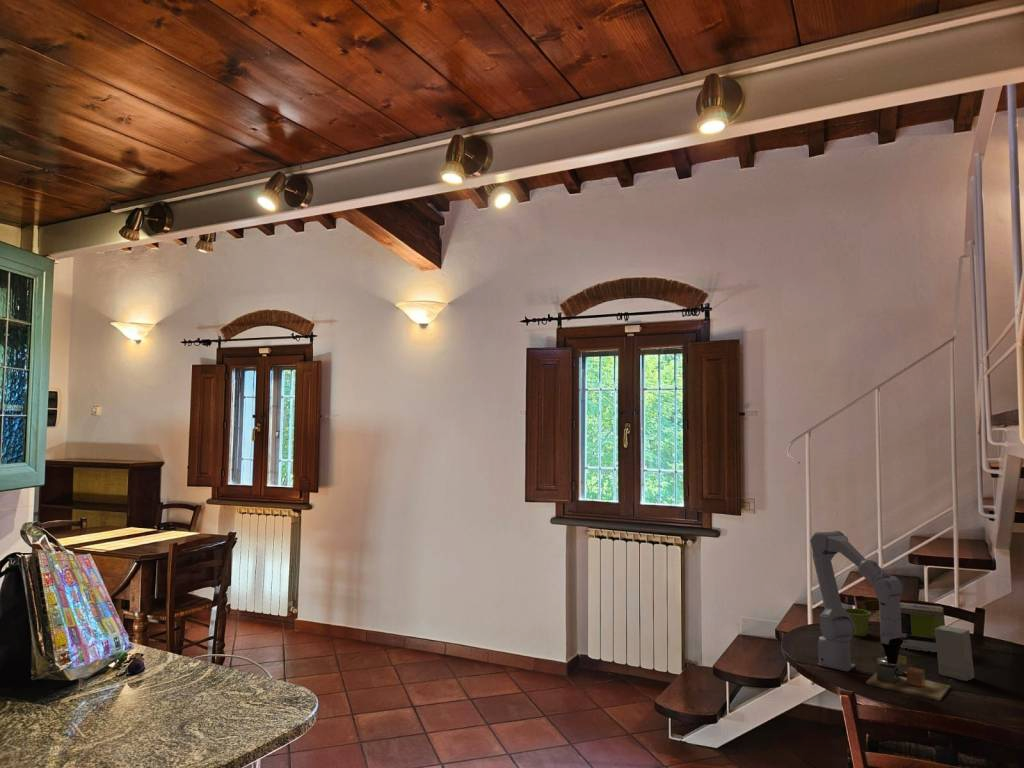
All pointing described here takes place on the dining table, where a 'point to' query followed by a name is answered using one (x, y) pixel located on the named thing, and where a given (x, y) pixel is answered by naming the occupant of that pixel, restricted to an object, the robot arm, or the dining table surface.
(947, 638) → the skincare box
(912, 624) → the tea box
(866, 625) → the plant pot
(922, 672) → the brown blocky piece
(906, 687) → the oak board
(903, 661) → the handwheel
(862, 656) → the dining table surface
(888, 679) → the eye block
